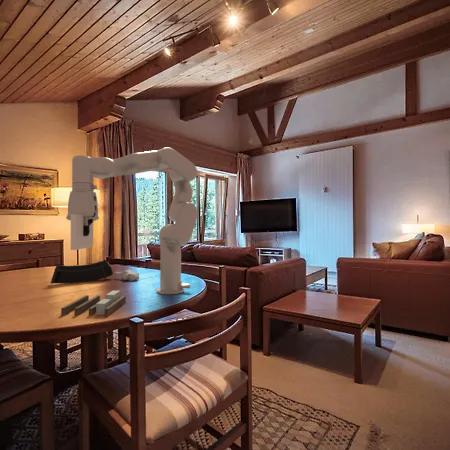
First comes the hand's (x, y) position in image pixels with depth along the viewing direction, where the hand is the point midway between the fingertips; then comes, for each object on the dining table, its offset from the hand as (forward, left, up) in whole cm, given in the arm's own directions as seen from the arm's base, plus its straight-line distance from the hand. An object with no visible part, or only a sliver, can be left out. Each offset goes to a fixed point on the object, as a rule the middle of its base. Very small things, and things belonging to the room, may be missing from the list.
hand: (82, 235), depth 116 cm
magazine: (+20, -44, -27) cm, 55 cm away
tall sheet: (0, 0, -5) cm, 5 cm away
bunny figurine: (-1, -52, -27) cm, 59 cm away
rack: (-7, +4, -27) cm, 28 cm away
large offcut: (-12, 0, -27) cm, 30 cm away
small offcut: (-12, +9, -27) cm, 31 cm away
